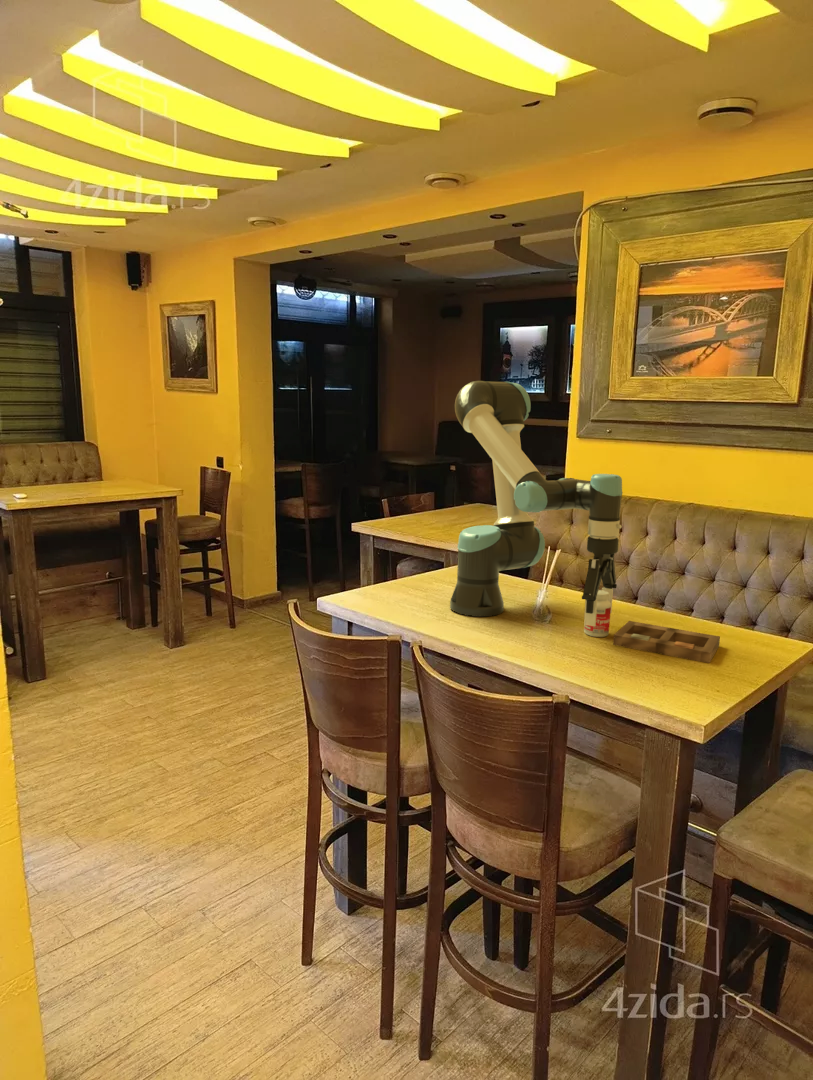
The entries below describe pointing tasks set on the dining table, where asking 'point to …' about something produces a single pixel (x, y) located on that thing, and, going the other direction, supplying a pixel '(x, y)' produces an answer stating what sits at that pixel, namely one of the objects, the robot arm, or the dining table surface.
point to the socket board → (667, 641)
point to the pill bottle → (600, 616)
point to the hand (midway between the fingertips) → (598, 618)
